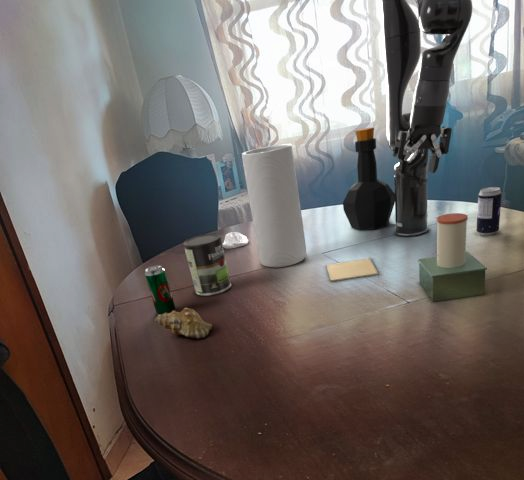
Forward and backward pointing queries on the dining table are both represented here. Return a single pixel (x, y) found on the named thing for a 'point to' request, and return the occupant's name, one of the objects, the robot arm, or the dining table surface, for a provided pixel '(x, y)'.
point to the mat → (351, 269)
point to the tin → (452, 279)
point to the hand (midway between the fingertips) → (417, 174)
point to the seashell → (185, 323)
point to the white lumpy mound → (234, 240)
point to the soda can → (159, 289)
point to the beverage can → (488, 210)
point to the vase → (275, 205)
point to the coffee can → (207, 264)
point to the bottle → (368, 188)
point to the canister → (451, 240)
